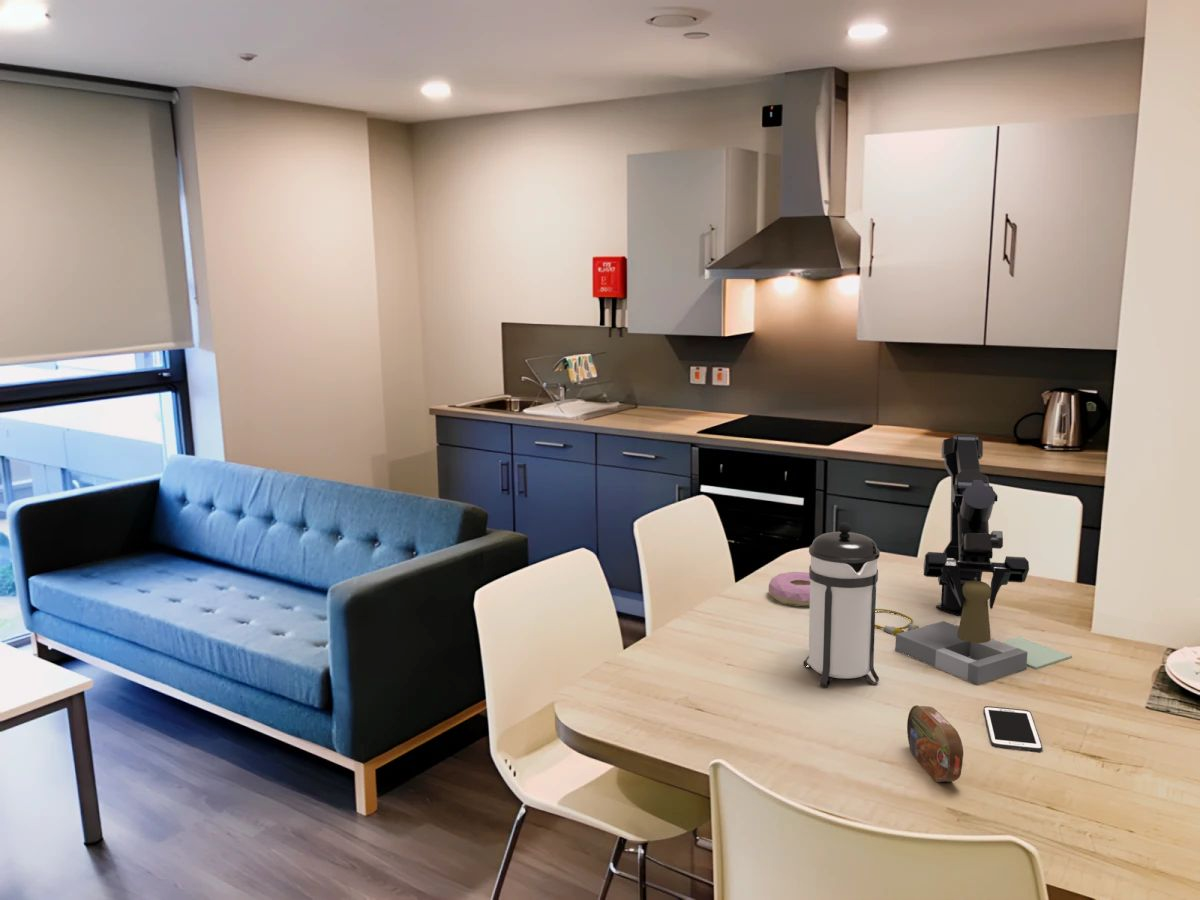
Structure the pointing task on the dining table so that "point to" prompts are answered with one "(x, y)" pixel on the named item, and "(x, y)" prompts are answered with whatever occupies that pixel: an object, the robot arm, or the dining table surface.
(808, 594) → the donut
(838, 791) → the dining table surface
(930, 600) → the dining table surface
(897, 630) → the gold chain necklace
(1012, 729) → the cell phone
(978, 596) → the cork
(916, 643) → the socket block
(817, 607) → the coffee press
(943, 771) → the tin
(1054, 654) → the mat
